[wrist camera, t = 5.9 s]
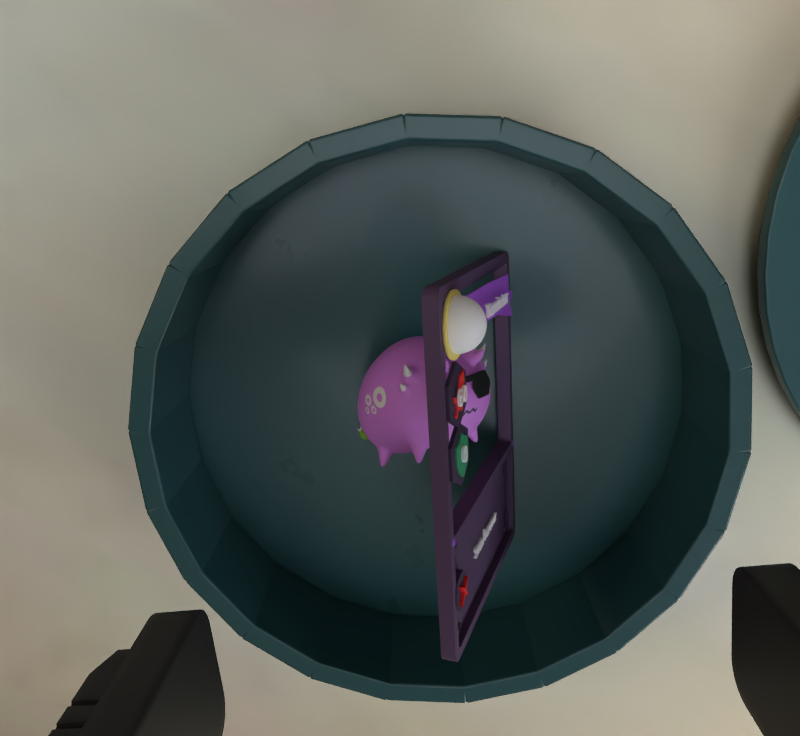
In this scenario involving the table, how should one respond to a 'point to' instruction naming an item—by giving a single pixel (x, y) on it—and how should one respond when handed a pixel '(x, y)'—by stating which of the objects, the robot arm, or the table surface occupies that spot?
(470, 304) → the purple monster toy
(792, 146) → the tin lid
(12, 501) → the table surface
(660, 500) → the tin
